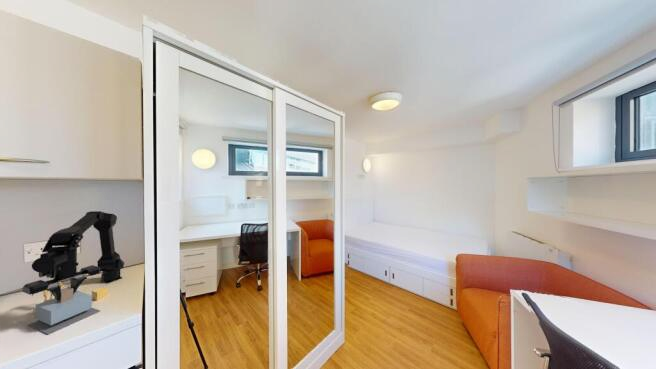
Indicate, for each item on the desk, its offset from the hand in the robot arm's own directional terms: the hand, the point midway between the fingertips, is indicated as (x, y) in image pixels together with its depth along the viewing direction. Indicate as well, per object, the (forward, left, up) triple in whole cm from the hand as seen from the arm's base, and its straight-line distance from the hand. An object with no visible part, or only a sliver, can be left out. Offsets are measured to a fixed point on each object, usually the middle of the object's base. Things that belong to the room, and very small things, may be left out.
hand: (65, 298), depth 82 cm
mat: (0, +1, -8) cm, 8 cm away
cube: (-13, -5, -8) cm, 16 cm away
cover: (0, 0, -6) cm, 6 cm away
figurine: (-1, -15, -8) cm, 17 cm away
